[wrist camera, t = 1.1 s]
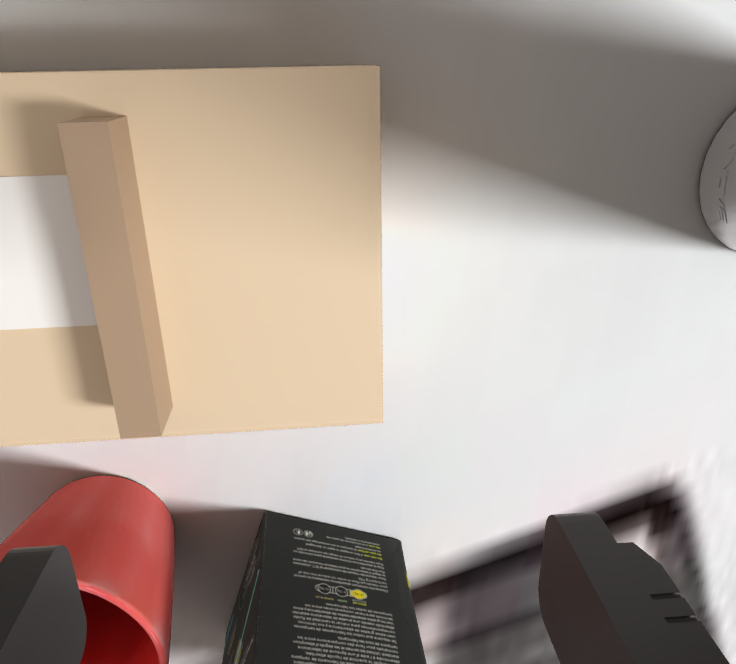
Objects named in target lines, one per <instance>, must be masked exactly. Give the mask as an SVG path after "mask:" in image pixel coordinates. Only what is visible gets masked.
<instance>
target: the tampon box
mask: <svg viewBox="0 0 736 664" xmlns="http://www.w3.org/2000/svg"><path fill="white" fill-rule="evenodd" d="M222 664H426V659H425V655H424V651H423V646H422V642H421V638H420V633H419V628H418V623H417V619H416V615H415V610H414V605H413V600H412V595H411V590H410V586H409V581H408V577H407V572H406V567H405V562H404V556H403V551H402V545H401V541H400V540H395V539H390V538H385V537H381V536H376V535H372V534H367V533H362V532H358V531H353V530H349V529H345V528H340V527H335V526H331V525H327V524H321V523H317V522H312V521H308V520H303V519H298V518H294V517H289V516H285V515H281V514H276V513H272V512H268V511H265V513H264V515H263V518H262V521H261V524H260V527H259V530H258V533H257V536H256V540H255V543H254V546H253V549H252V552H251V555H250V558H249V561H248V564H247V568H246V571H245V574H244V577H243V580H242V584H241V587H240V590H239V593H238V596H237V599H236V603H235V606H234V609H233V613H232V616H231V620H230V623H229V626H228V629H227V633H226V640H225V648H224V655H223V662H222Z"/></svg>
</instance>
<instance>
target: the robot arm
mask: <svg viewBox="0 0 736 664" xmlns="http://www.w3.org/2000/svg"><path fill="white" fill-rule="evenodd" d="M699 195H700V203H701V210H702V213H703V215H704V218H705V221H706V223H707V226H708V227H709V228H710V230H711V231H712V233H713V234H714V235H715V237H716V238H717V239H718V240H720V241H721V242H722V243H723V244H724V245H726V246H727V247H729V248H731V249H733V250H735V251H736V111H735V112H734V113H733V114H732V115H731V116H730V117H729V118H728V119H727V120H726V122H725V123H724V125H723V126H722V127H721V129H720V130H719V132H718V133H717V134H716V136H715V138H714V140H713V142H712V144H711V146H710V148H709V150H708V152H707V154H706V158H705V161H704V165H703V168H702V172H701V178H700V189H699ZM538 592H539V603H540V609H541V614H542V618H543V621H544V624H545V627H546V629H547V632H548V634H549V637H550V639H551V641H552V644H553V646H554V649H555V651H556V654H557V656H558V659H559V661H560V663H561V664H729V662H728V661H727V659H726V658H725V656H724V655H723V654H722V652H721V651H720V649H719V648H718V646H717V645H716V643H715V642H714V640H713V639H712V638H711V636H710V635H709V633H708V632H707V630H706V629H705V627H704V626H703V625H702V623H701V622H700V621H697V619H696V614H695V613H694V612H693V610H692V609H691V607H690V606H689V604H688V603H687V601H686V600H685V598H681V596H680V591H679V590H678V588H677V587H676V585H675V584H674V583H673V581H672V580H671V578H670V577H669V575H668V574H667V572H666V571H665V570H664V568H663V567H662V565H661V564H660V563H658V562H657V561H656V560H655V559H653V558H652V557H651V556H649V555H648V554H647V553H646V552H644V551H643V550H642V549H641V548H639V547H638V546H637V545H635V544H634V543H633V542H631V543H617V542H616V541H615V539H614V537H613V536H612V534H611V533H610V531H609V529H608V528H607V526H606V525H605V523H604V521H603V520H602V518H601V517H600V516H599V515H598V514H597V513H595V512H588V513H572V514H557V515H550V516H549V517H548V519H547V521H546V526H545V534H544V543H543V551H542V560H541V568H540V576H539V586H538ZM86 634H87V622H86V615H85V610H84V606H83V603H82V599H81V595H80V591H79V587H78V583H77V579H76V575H75V571H74V567H73V564H72V560H71V556H70V553H69V551H68V549H67V547H66V546H64V545H53V546H38V547H22V548H13V549H11V550H9V551H8V552H7V553H6V555H5V556H4V558H3V559H2V561H1V562H0V664H80V662H81V659H82V656H83V653H84V648H85V643H86Z"/></svg>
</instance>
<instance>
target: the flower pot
mask: <svg viewBox="0 0 736 664" xmlns="http://www.w3.org/2000/svg"><path fill="white" fill-rule="evenodd" d="M53 545H64V546H66V547H67V549H68V551H69V553H70V556H71V560H72V564H73V567H74V571H75V575H76V579H77V583H78V587H79V591H80V595H81V599H82V603H83V606H84V610H85V615H86V622H87V634H86V643H85V648H84V653H83V656H82V659H81V662H80V664H168V663H169V651H170V636H171V619H172V603H173V586H174V558H175V545H174V523H173V520H172V517H171V515H170V512H169V511H168V509H167V507H166V506H165V504H164V503H163V502H162V501H161V500H160V498H159V497H157V496H156V495H155V494H154V493H153V492H152V491H150V490H149V489H147V488H146V487H144V486H142V485H140V484H138V483H136V482H134V481H131V480H128V479H124V478H121V477H115V476H92V477H87V478H82V479H79V480H75V481H73V482H70V483H68V484H66V485H65V486H63V487H62V488H60V489H59V490H57V491H56V492H55V493H54V494H53V495H52V496H51V497H50V498H49V499H48V500H47V501H45V502H44V503H43V504H42V505H41V506H40V507H39V508H38V509H37V510H36V511H35V512H34V513H33V514H32V515H30V516H29V517H28V518H27V519H26V520H25V521H24V522H23V523H22V524H21V525H20V526H19V527H18V528H17V529H16V530H15V531H14V532H13V533H12V534H11V535H10V536H9V537H8V538H7V539H6V540H5V541H4V542H3V543H2V544H1V545H0V562H1V561H2V559H3V558H4V556H5V555H6V553H7V552H8V551H9V550H11V549H13V548H22V547H38V546H53Z"/></svg>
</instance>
